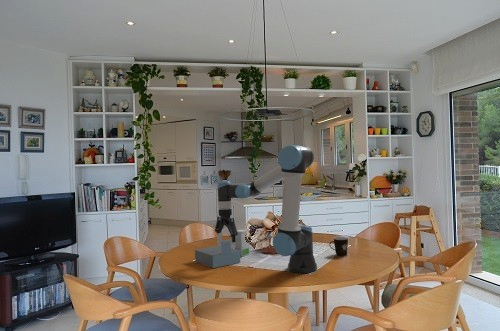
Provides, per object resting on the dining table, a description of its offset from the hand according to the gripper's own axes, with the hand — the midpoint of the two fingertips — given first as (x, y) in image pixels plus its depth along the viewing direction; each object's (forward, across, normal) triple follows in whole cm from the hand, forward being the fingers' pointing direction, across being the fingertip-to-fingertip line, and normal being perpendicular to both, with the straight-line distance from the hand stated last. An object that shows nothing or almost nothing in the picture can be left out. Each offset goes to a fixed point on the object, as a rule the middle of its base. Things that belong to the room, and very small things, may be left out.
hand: (226, 246), depth 198 cm
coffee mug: (+11, -28, -62) cm, 69 cm away
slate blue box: (+11, +11, 0) cm, 15 cm away
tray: (+10, +9, 0) cm, 14 cm away
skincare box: (+11, +14, -20) cm, 27 cm away
